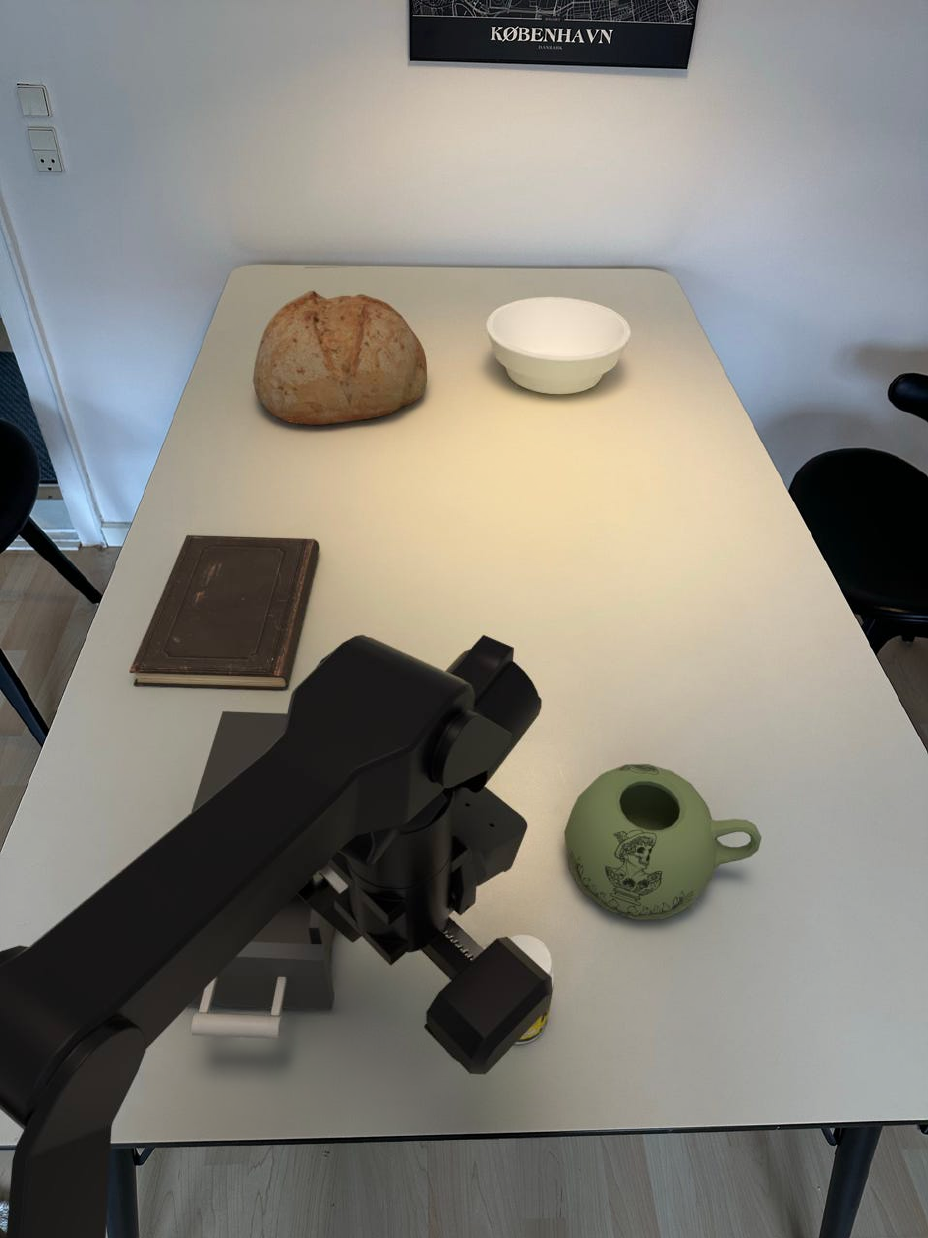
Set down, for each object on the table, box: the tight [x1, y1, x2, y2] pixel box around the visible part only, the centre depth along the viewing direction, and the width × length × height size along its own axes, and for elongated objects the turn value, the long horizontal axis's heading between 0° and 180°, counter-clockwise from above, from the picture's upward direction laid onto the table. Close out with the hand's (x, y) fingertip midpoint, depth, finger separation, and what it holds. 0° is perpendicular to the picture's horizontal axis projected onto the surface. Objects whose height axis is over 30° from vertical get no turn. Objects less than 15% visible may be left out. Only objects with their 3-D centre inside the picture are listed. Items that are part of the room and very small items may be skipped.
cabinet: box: [190, 710, 287, 813], centre depth 76 cm, size 15×13×10 cm
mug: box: [563, 763, 762, 920], centre depth 76 cm, size 16×13×9 cm
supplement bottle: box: [508, 934, 555, 1045], centre depth 66 cm, size 5×5×8 cm
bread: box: [252, 290, 428, 426], centre depth 135 cm, size 26×23×15 cm
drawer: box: [189, 894, 336, 1040], centre depth 69 cm, size 18×11×8 cm, turn 178°
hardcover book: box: [129, 534, 321, 691], centre depth 101 cm, size 16×23×2 cm
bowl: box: [485, 296, 632, 395], centre depth 143 cm, size 22×22×8 cm
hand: (403, 984), depth 58 cm, fingers open, 9 cm apart
